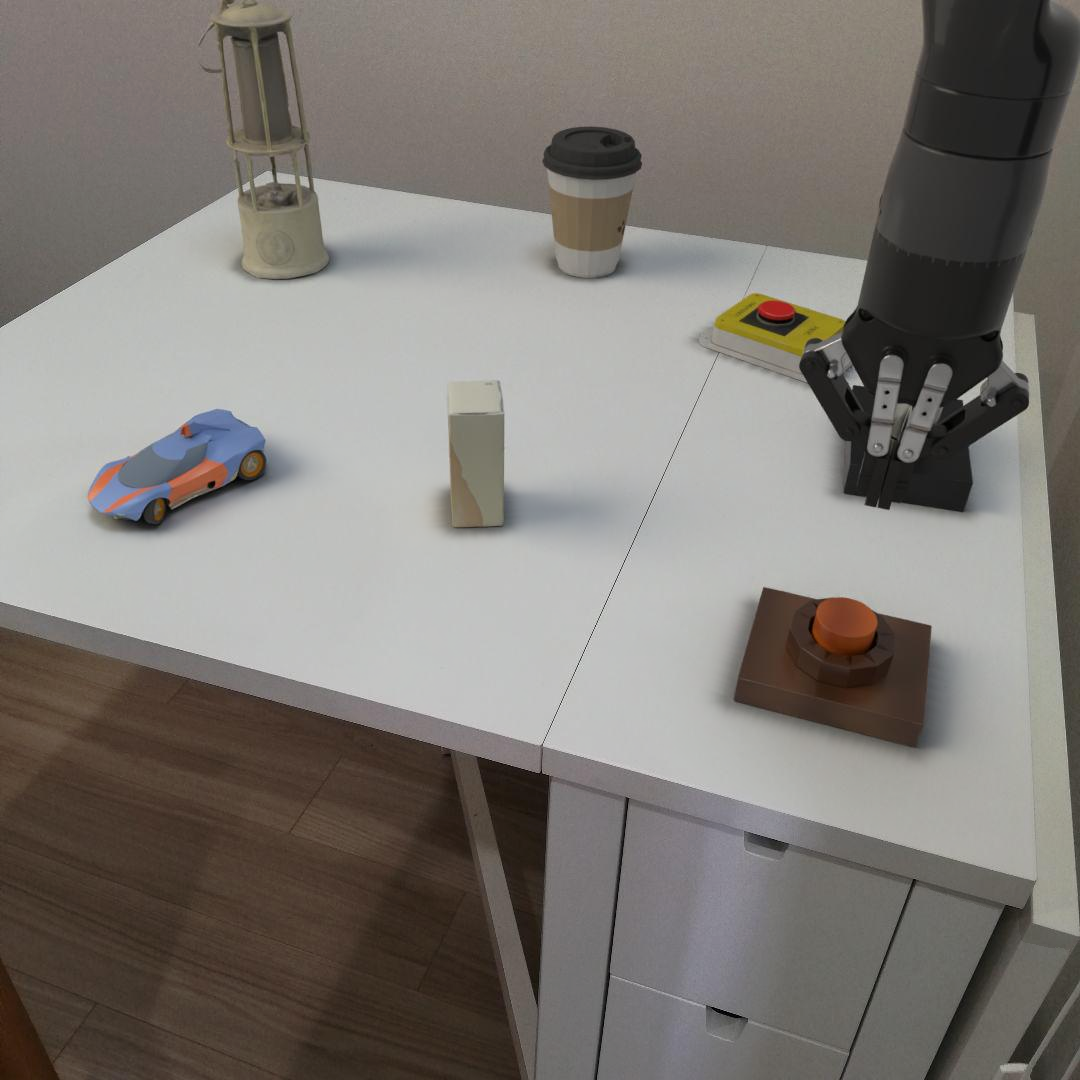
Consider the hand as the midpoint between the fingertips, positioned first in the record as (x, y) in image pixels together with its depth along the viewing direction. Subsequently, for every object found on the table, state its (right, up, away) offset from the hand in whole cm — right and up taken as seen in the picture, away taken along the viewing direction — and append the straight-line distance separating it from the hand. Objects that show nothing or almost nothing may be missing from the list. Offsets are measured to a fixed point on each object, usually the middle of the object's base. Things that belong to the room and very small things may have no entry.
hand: (878, 500), depth 65 cm
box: (-26, 0, +24) cm, 35 cm away
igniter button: (0, -9, +7) cm, 11 cm away
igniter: (0, -12, +9) cm, 15 cm away
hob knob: (+12, +7, +29) cm, 32 cm away
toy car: (-51, +2, +25) cm, 57 cm away
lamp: (-52, +31, +63) cm, 87 cm away
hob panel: (+12, +5, +31) cm, 34 cm away
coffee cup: (-15, +31, +63) cm, 71 cm away
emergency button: (+5, +18, +47) cm, 51 cm away
